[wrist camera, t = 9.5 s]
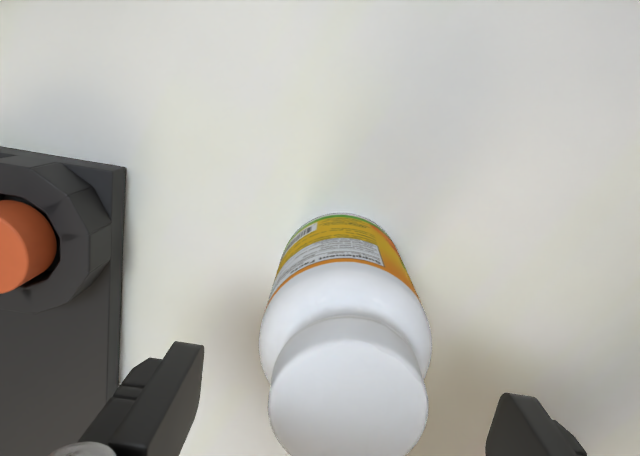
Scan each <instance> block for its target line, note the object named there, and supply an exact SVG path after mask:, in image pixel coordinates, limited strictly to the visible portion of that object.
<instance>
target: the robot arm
mask: <svg viewBox="0 0 640 456" xmlns="http://www.w3.org/2000/svg"><path fill="white" fill-rule="evenodd" d="M203 360H204V346H203V345H197V344H190V343H184V342H177V341H175V342H174V343H173V344H172V346H171V347H170V349H169V350H168V352H167V353H166V355H165V357H164V358H163V360H162V359H156V358H148V359H147V360H145V361H144V362H142V363H140V364H139V365H137V366H136V367H134V368H133V369H132V370H131V371H130V373H129V374H128V375H127V377H126V378H125V379H124V381H123V382H122V385H120V386H119V387H118V389H117V390H116V391H115V393H114V394H113V397H111V398H110V399H109V400H108V402H107V403H106V404H105V406H104V407H103V408H102V410H101V411H100V412H99V414H98V415H97V416H96V418H95V419H94V420H93V422H92V423H91V424H90V426H89V427H88V428H87V430H86V431H85V432H84V434H83V435H82V436H81V438H80V439H79V440H78V442H77V443H73V444H69V445H66V446H64V447H61V448H59V449H57V450H55V451H53V452H52V453H50V454H49V455H47V456H179V454H180V451H181V449H182V447H183V444H184V442H185V440H186V438H187V435H188V433H189V431H190V428H191V426H192V424H193V421H194V419H195V416H196V412H197V408H198V404H199V399H200V391H201V381H202V371H203ZM485 453H486V456H587V453H586V451H585V450H584V449H583V447H582V446H581V445H580V443H579V442H578V441H577V439H576V438H575V437H574V436H573V435H572V434H571V433H570V432H569V431H568V430H566V429H565V428H564V427H563V426H562V425H560V424H559V423H558V422H557V421H556V420H552V419H551V418H550V416H549V415H548V413H547V412H546V411H545V409H544V408H543V406H542V405H541V404H540V402H539V401H538V400H537V399H536V398H535V397H531V396H525V395H518V394H512V393H504V394H502V396H501V397H500V399H499V402H498V405H497V408H496V412H495V415H494V418H493V421H492V424H491V427H490V430H489V433H488V436H487V440H486V447H485Z"/></svg>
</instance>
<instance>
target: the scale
mask: <svg viewBox="0 0 640 456" xmlns="http://www.w3.org/2000/svg"><path fill="white" fill-rule="evenodd" d="M124 196H125V167H120V166H114V165H108V164H102V163H96V162H90V161H84V160H78V159H72V158H66V157H60V156H54V155H48V154H42V153H36V152H30V151H24V150H18V149H12V148H6V147H0V201H1V200H14V201H18V202H22V203H25V204H27V205H29V206H31V207H33V208H35V209H36V210H37V211H39V212H40V213H41V214H42V215H43V216H44V217H45V218H46V219H47V220H48V222H49V223H50V225H51V227H52V229H53V231H54V233H55V237H56V242H57V251H56V255H55V258H54V260H53V262H52V264H51V265H50V266H49V268H48V269H47V270H45V271H44V272H42V273H41V274H39V275H37V276H36V277H34V278H32V279H31V280H29V281H27V282H26V283H24V284H22V285H21V286H19V287H17V288H15V289H14V290H12V291H9V292H6V293H2V294H0V456H47V455H49V454H50V453H52V452H53V451H55V450H57V449H59V448H61V447H64V446H66V445H69V444H73V443H77V442H78V440H79V439H80V438H81V436H82V435H83V434H84V432H85V431H86V430H87V428H88V427H89V426H90V424H91V423H92V422H93V420H94V419H95V418H96V416H97V415H98V414H99V412H100V411H101V410H102V408H103V407H104V406H105V404H106V403H107V402H108V400H109V399H110V398H111V397H113V394H114V393H115V391H116V390H117V389H118V369H119V340H120V311H121V283H122V254H123V225H124Z"/></svg>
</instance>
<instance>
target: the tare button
mask: <svg viewBox="0 0 640 456" xmlns="http://www.w3.org/2000/svg"><path fill="white" fill-rule="evenodd" d="M56 251H57V242H56V237H55V233H54V231H53V229H52V227H51V225H50V223H49V222H48V220H47V219H46V218H45V217H44V216H43V215H42V214H41V213H40V212H39V211H37V210H36V209H35V208H33V207H31V206H29V205H27V204H25V203H22V202H18V201H14V200H1V201H0V294H2V293H6V292H9V291H12V290H14V289H15V288H17V287H19V286H21V285H22V284H24V283H26V282H27V281H29V280H31V279H32V278H34V277H36V276H37V275H39V274H41V273H42V272H44V271H45V270H47V269H48V268H49V266H50V265H51V264H52V262H53V260H54V258H55V255H56Z"/></svg>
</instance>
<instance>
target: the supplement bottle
mask: <svg viewBox="0 0 640 456" xmlns="http://www.w3.org/2000/svg"><path fill="white" fill-rule="evenodd" d="M431 353H432V336H431V330H430V326H429V322H428V319H427V316H426V314H425V311H424V309H423V306H422V304H421V302H420V300H419V297H418V295H417V293H416V291H415V289H414V286H413V284H412V282H411V280H410V277H409V275H408V273H407V271H406V268H405V266H404V264H403V262H402V260H401V257H400V255H399V253H398V251H397V249H396V247H395V245H394V244H393V242H392V240H391V239H390V237H389V236H388V235H387V234H386V232H385V231H384V230H383V229H382V228H380V227H379V226H378V225H377V224H375V223H374V222H372V221H370V220H368V219H366V218H364V217H361V216H357V215H353V214H347V213H333V214H327V215H323V216H320V217H318V218H315V219H313V220H311V221H309V222H308V223H306V224H305V225H303V226H302V227H301V228H300V229H299V230H297V231H296V233H295V234H294V235H293V236H292V237H291V239H290V240H289V242H288V244H287V246H286V248H285V250H284V252H283V255H282V257H281V261H280V264H279V267H278V270H277V274H276V277H275V280H274V284H273V287H272V290H271V293H270V297H269V300H268V303H267V306H266V309H265V312H264V315H263V319H262V324H261V329H260V335H259V354H260V360H261V365H262V368H263V371H264V374H265V376H266V378H267V380H268V382H269V384H270V385H271V387H270V392H269V398H268V415H269V420H270V424H271V427H272V430H273V432H274V434H275V436H276V438H277V440H278V441H279V443H280V444H281V445H282V447H283V448H284V449H285V450H286V451H287V452H288V453H289V454H290V455H291V456H405V455H406V454H407V453H408V452H409V451H410V450H411V449H412V448H413V447H414V446H415V445H416V443H417V442H418V440H419V439H420V437H421V435H422V433H423V431H424V429H425V426H426V421H427V417H428V396H427V391H426V387H425V384H424V378H425V376H426V373H427V370H428V367H429V364H430V360H431Z"/></svg>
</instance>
